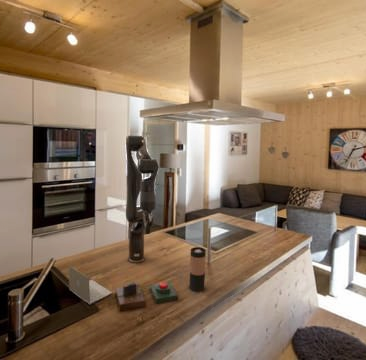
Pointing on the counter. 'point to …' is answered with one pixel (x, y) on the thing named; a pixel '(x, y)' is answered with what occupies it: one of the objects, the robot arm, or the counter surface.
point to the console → (130, 299)
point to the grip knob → (129, 289)
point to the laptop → (86, 287)
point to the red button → (163, 285)
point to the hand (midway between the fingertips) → (147, 233)
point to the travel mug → (197, 268)
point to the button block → (163, 293)
